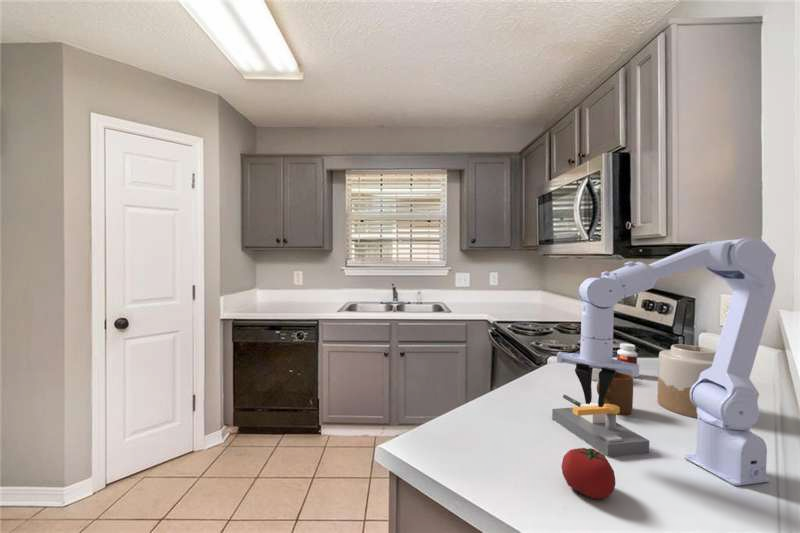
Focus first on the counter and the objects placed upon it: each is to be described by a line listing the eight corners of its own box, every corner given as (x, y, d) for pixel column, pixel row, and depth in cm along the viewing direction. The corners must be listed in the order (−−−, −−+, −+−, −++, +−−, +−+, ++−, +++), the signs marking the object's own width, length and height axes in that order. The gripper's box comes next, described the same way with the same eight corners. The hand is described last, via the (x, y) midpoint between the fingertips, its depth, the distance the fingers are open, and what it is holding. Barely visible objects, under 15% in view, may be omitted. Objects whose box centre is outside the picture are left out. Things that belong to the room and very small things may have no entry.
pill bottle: (616, 376, 127) (617, 345, 127) (615, 371, 133) (616, 342, 133) (637, 379, 125) (638, 347, 124) (635, 374, 130) (636, 344, 130)
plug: (607, 422, 83) (608, 409, 83) (592, 423, 82) (593, 410, 82) (571, 401, 95) (571, 390, 95) (557, 402, 94) (558, 391, 94)
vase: (684, 419, 91) (686, 354, 91) (645, 397, 107) (646, 341, 107) (745, 422, 91) (748, 356, 91) (697, 399, 106) (699, 343, 106)
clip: (611, 408, 81) (611, 403, 81) (621, 413, 78) (621, 408, 78) (570, 411, 79) (570, 406, 79) (579, 417, 76) (579, 411, 76)
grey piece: (649, 452, 74) (650, 423, 74) (607, 456, 72) (608, 427, 72) (586, 416, 92) (587, 392, 92) (552, 418, 90) (552, 394, 90)
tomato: (597, 477, 65) (598, 437, 65) (626, 507, 57) (627, 462, 57) (553, 477, 65) (554, 437, 65) (577, 507, 57) (578, 461, 57)
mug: (612, 421, 90) (613, 383, 90) (583, 410, 96) (584, 374, 96) (638, 412, 96) (639, 376, 96) (609, 402, 102) (610, 369, 102)
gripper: (641, 339, 71) (639, 407, 71) (563, 329, 80) (562, 390, 80) (637, 345, 66) (635, 419, 66) (554, 334, 75) (552, 399, 75)
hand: (594, 404), depth 73 cm, fingers closed
